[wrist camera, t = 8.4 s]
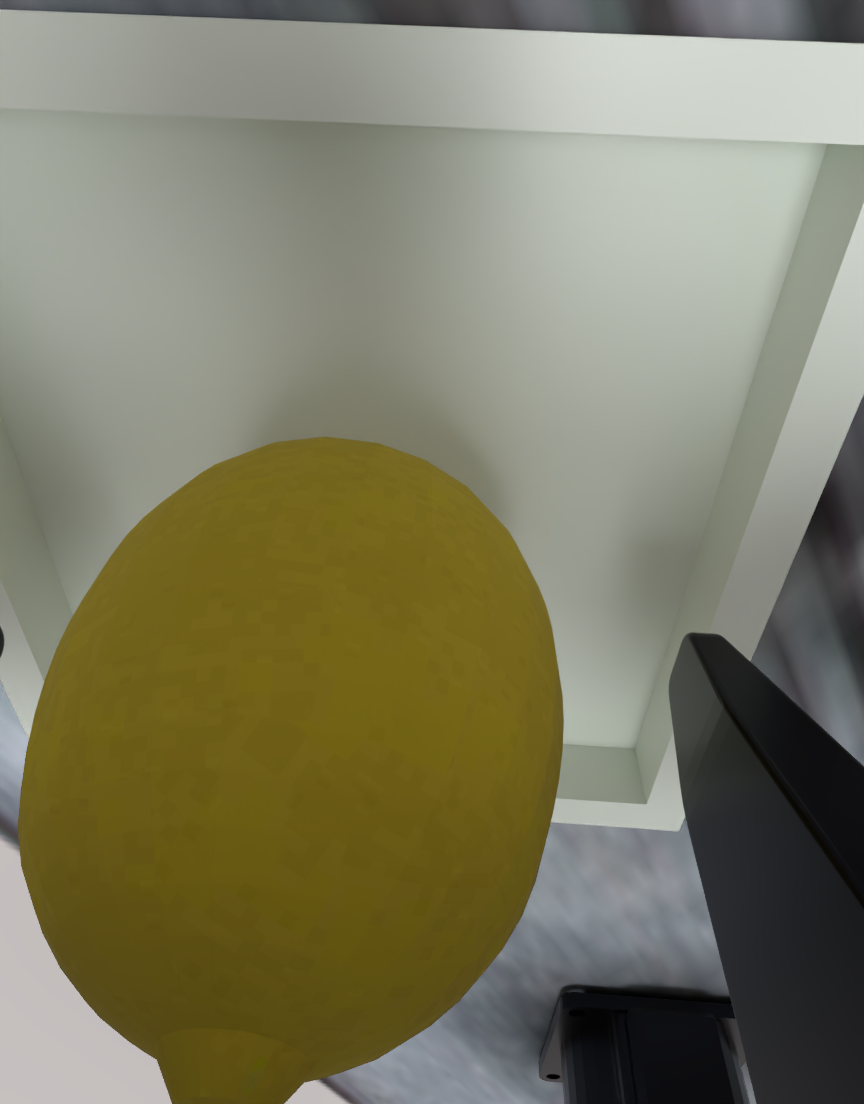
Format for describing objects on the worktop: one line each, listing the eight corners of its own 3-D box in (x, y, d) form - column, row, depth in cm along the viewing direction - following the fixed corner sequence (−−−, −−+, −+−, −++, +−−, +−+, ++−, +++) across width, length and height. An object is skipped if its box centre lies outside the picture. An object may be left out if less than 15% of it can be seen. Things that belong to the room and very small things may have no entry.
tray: (660, 756, 15) (678, 831, 14) (91, 717, 16) (51, 786, 14) (913, 45, 8) (1009, 49, 6) (-186, 2, 8) (-328, -3, 7)
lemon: (137, 524, 12) (-264, 1109, 6) (315, 255, 9) (-76, 800, 3) (400, 677, 14) (329, 1248, 7) (613, 492, 11) (797, 1145, 5)
